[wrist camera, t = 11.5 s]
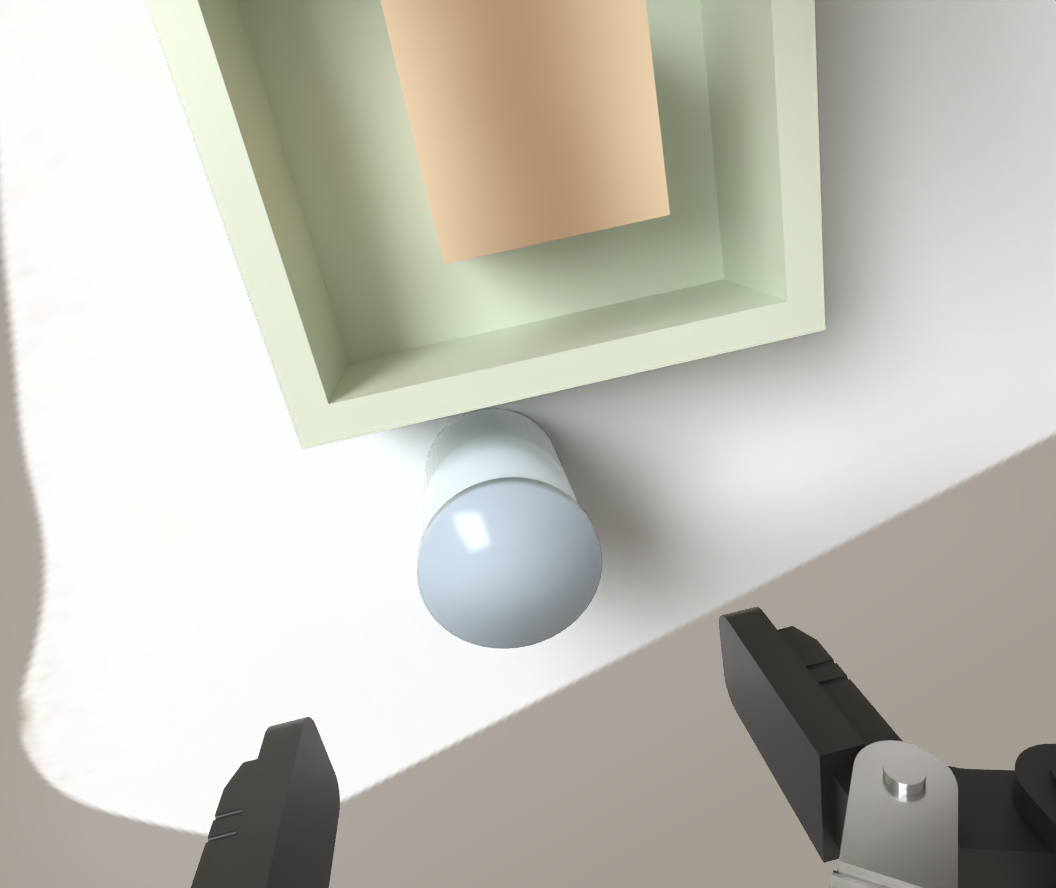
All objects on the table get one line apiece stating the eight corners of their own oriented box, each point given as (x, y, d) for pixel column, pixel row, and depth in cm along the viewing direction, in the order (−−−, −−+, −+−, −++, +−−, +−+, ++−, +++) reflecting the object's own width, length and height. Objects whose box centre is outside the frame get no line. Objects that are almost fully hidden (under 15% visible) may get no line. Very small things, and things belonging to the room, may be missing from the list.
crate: (709, -193, 18) (803, -321, 13) (746, 299, 23) (825, 330, 18) (174, -89, 17) (79, -186, 13) (329, 393, 22) (301, 449, 18)
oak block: (578, 12, 19) (638, -58, 13) (606, 204, 20) (670, 214, 15) (396, 49, 18) (378, -6, 13) (441, 240, 20) (443, 264, 15)
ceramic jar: (547, 391, 23) (586, 467, 17) (570, 515, 25) (614, 625, 19) (406, 423, 23) (395, 511, 17) (440, 546, 25) (442, 666, 19)
